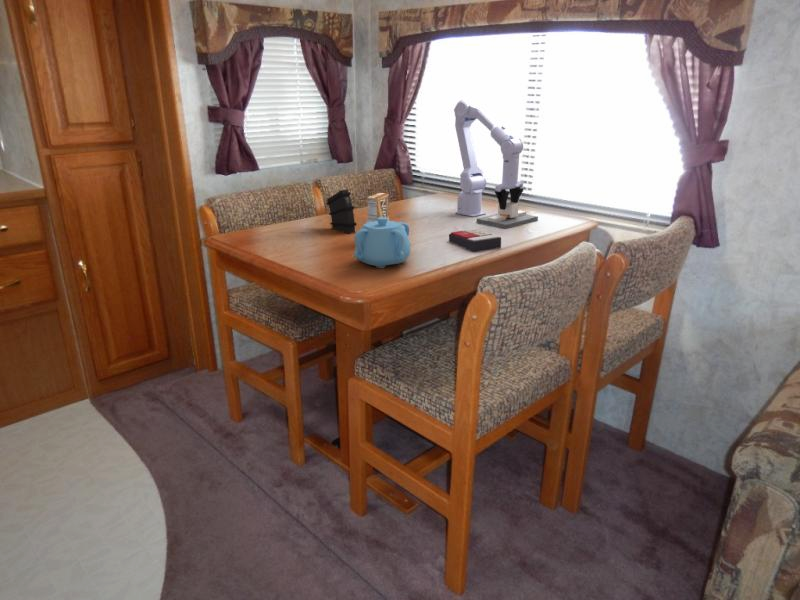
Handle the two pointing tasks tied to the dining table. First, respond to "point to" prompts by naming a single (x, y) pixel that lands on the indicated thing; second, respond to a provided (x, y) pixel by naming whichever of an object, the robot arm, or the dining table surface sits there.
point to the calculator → (475, 240)
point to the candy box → (378, 206)
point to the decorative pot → (382, 243)
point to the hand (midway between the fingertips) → (508, 208)
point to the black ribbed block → (342, 212)
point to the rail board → (507, 220)
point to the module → (509, 209)
